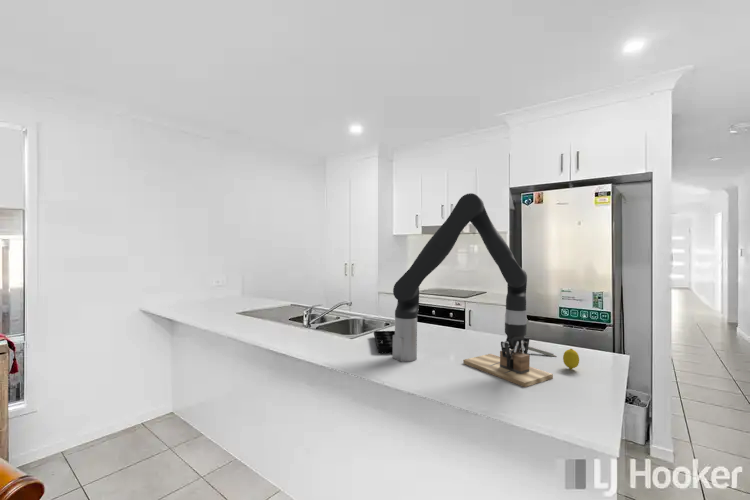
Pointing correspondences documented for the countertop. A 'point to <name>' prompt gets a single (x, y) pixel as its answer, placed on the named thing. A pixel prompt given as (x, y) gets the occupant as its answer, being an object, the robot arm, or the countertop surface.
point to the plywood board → (492, 366)
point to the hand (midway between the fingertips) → (514, 367)
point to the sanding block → (517, 362)
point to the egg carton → (384, 341)
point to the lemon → (571, 358)
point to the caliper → (540, 351)
